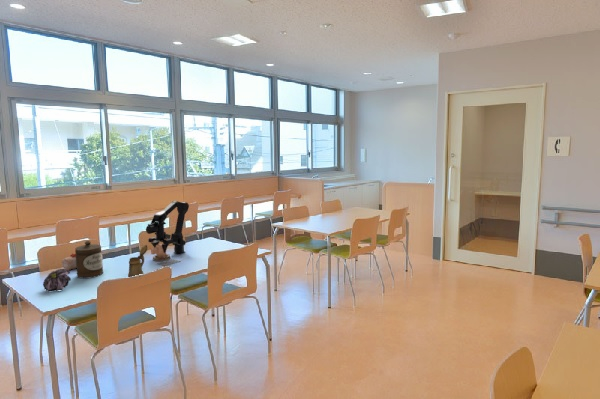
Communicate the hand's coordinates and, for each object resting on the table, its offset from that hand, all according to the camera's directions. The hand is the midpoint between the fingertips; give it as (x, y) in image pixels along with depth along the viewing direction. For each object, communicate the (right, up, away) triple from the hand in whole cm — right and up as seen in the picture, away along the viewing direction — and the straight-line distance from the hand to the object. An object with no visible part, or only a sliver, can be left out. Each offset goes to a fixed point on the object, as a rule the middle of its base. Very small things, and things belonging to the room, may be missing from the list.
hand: (161, 252), depth 291 cm
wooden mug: (-2, -10, -34) cm, 36 cm away
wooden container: (-34, -10, -34) cm, 49 cm away
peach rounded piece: (-1, -4, -2) cm, 4 cm away
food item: (-52, -8, -19) cm, 56 cm away
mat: (+9, -6, -9) cm, 14 cm away
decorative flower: (-40, -14, -59) cm, 72 cm away
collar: (0, -5, +1) cm, 5 cm away
